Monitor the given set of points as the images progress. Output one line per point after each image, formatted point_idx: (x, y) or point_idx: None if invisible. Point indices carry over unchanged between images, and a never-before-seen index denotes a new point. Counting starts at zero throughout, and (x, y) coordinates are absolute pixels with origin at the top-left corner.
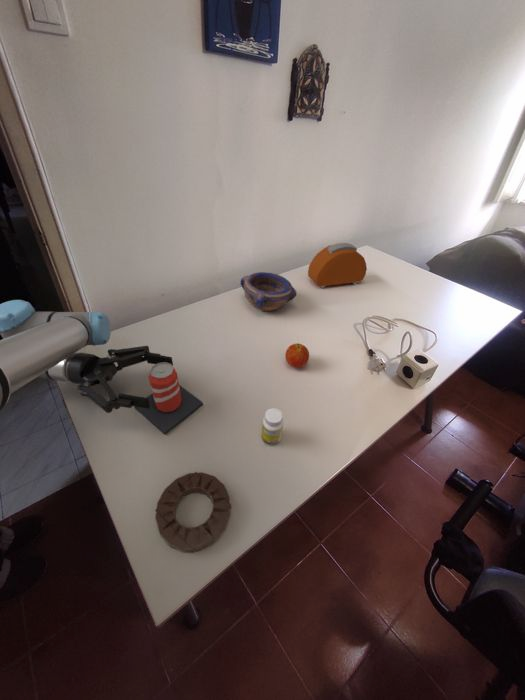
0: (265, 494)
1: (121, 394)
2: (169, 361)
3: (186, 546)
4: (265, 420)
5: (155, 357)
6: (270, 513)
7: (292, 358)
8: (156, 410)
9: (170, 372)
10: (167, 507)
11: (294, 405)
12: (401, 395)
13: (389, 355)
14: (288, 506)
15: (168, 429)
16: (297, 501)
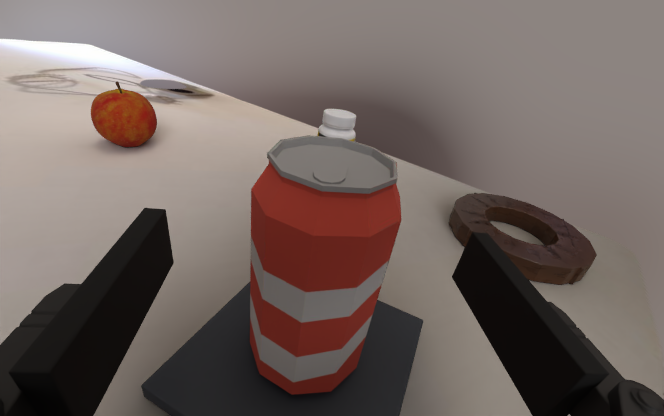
0: (423, 182)
1: (574, 355)
2: (164, 233)
3: (567, 223)
4: (349, 124)
5: (114, 290)
6: (441, 179)
7: (144, 114)
8: (352, 384)
9: (329, 148)
10: (559, 253)
11: (253, 154)
12: (225, 100)
13: (139, 90)
14: (422, 169)
15: (406, 313)
16: (410, 164)
